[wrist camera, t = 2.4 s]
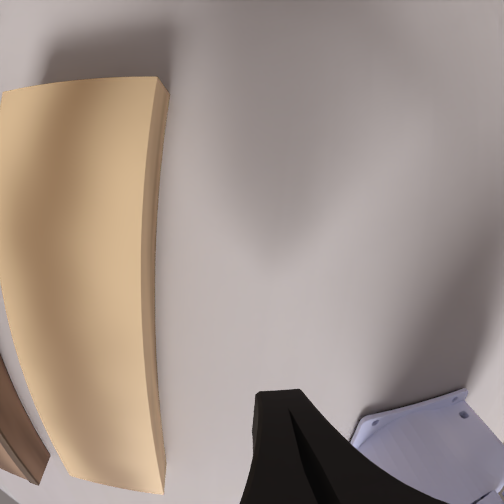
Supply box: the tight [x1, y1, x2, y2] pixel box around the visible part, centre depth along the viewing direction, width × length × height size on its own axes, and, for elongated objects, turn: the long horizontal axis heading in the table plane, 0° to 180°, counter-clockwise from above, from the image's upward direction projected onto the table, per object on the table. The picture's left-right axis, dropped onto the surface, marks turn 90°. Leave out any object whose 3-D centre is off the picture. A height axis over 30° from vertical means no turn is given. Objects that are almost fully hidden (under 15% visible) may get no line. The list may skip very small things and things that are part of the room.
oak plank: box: [0, 77, 170, 495], centre depth 11 cm, size 6×20×3 cm, turn 173°
